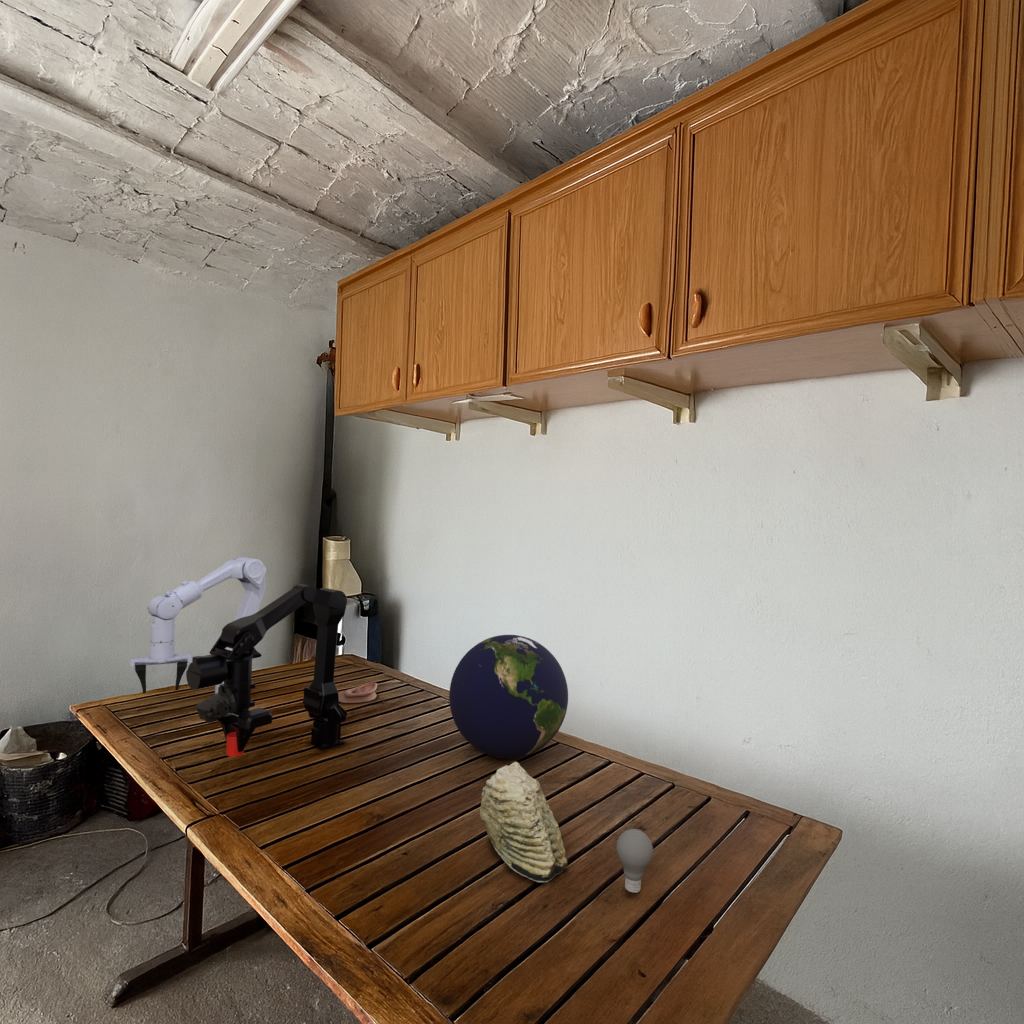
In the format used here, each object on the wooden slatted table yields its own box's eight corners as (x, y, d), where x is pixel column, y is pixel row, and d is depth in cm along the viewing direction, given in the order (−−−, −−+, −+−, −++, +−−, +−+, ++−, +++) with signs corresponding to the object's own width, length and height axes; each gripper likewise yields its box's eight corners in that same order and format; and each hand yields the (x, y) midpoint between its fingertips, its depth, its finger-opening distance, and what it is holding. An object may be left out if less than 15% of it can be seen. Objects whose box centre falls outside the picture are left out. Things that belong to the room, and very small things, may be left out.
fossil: (501, 827, 124) (504, 751, 124) (575, 868, 111) (578, 784, 111) (467, 843, 118) (470, 763, 118) (541, 889, 105) (545, 799, 105)
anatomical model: (326, 688, 195) (343, 678, 206) (325, 700, 195) (343, 690, 206) (366, 692, 192) (381, 682, 203) (365, 705, 192) (381, 694, 203)
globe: (495, 724, 181) (499, 619, 180) (587, 752, 163) (592, 636, 163) (421, 755, 157) (426, 635, 156) (520, 792, 139) (526, 657, 139)
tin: (222, 755, 141) (222, 735, 140) (234, 749, 144) (234, 730, 144) (236, 757, 139) (236, 738, 139) (247, 751, 143) (248, 732, 143)
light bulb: (610, 879, 108) (613, 822, 108) (644, 879, 109) (647, 822, 109) (619, 902, 102) (622, 840, 102) (655, 901, 103) (658, 840, 103)
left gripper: (130, 646, 165) (128, 697, 165) (192, 642, 171) (191, 692, 172) (131, 640, 171) (130, 690, 171) (192, 636, 178) (190, 684, 178)
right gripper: (180, 678, 140) (178, 748, 141) (226, 697, 129) (224, 772, 130) (227, 669, 149) (225, 734, 150) (274, 685, 139) (272, 756, 139)
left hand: (160, 690), depth 172 cm, fingers open, 7 cm apart
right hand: (235, 748), depth 142 cm, fingers closed on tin, 4 cm apart
